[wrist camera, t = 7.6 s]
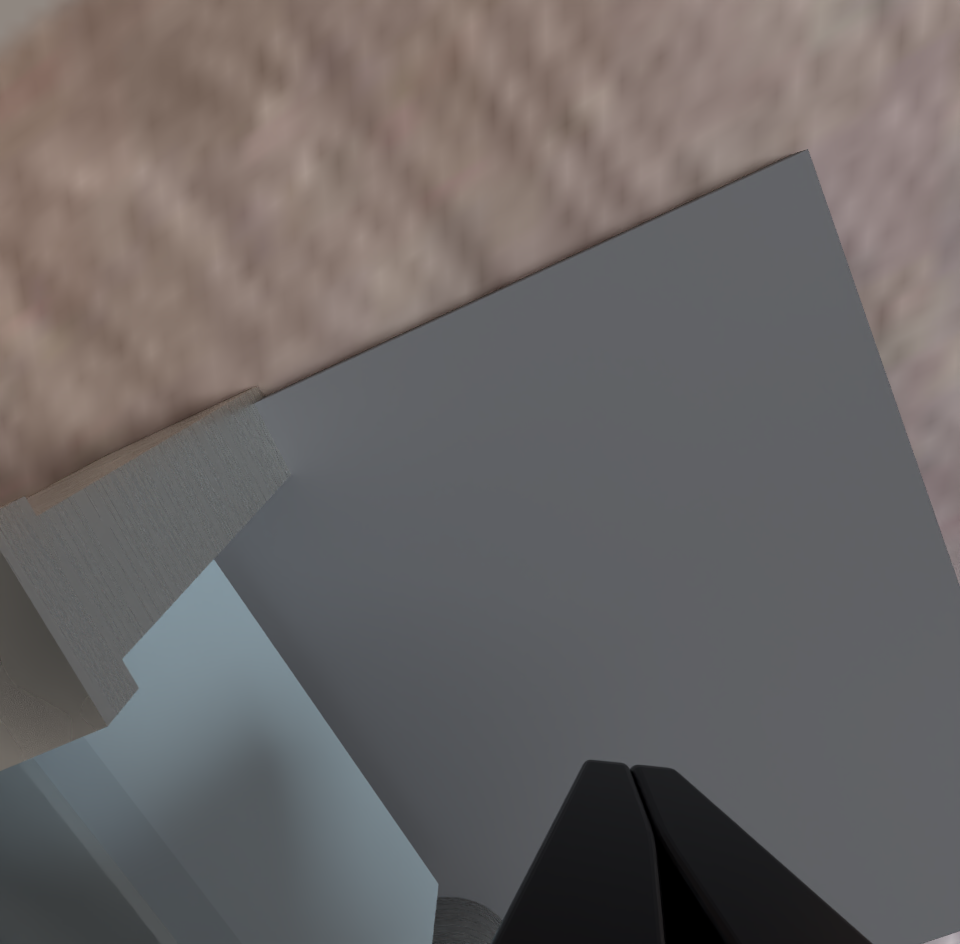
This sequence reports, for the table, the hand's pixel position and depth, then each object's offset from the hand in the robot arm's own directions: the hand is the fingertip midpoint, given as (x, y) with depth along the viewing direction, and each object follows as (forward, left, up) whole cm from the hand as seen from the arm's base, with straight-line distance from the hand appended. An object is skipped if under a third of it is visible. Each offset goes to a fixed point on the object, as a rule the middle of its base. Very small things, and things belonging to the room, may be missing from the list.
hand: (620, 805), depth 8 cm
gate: (0, +5, -5) cm, 7 cm away
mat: (-2, +1, -6) cm, 7 cm away
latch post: (+4, +5, -6) cm, 9 cm away
